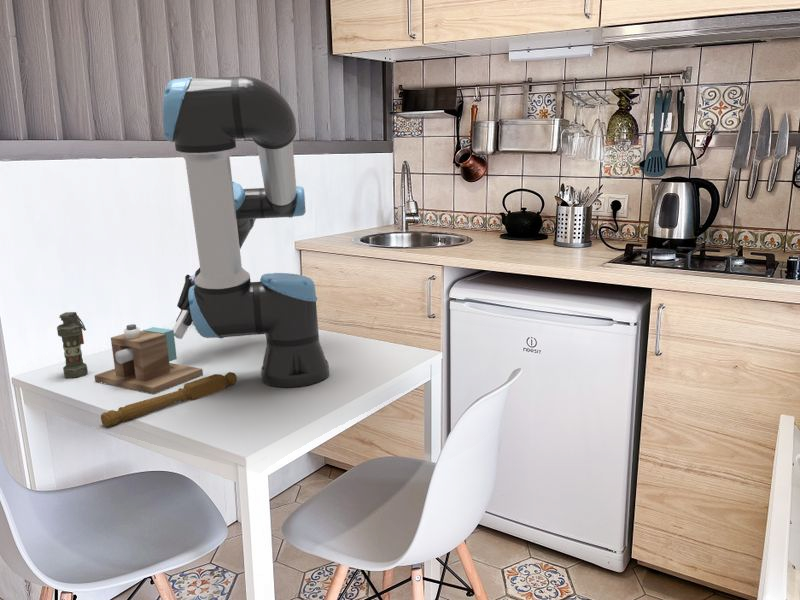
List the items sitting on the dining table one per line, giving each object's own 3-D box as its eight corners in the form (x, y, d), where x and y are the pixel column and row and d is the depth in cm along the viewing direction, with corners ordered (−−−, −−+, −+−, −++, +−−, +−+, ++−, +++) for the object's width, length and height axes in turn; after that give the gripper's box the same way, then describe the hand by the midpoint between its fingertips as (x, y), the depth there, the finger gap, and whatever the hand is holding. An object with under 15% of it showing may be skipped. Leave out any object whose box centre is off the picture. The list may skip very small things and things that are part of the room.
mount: (203, 374, 156) (198, 331, 154) (153, 394, 145) (147, 347, 142) (145, 364, 166) (140, 323, 164) (95, 381, 155) (88, 337, 153)
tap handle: (98, 411, 128) (230, 369, 150) (101, 426, 129) (232, 382, 151) (106, 414, 126) (238, 371, 148) (108, 430, 127) (240, 384, 149)
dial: (143, 336, 151) (141, 324, 151) (131, 340, 149) (129, 327, 148) (133, 335, 153) (132, 323, 152) (121, 338, 150) (120, 326, 150)
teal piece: (176, 358, 158) (173, 330, 156) (131, 374, 147) (127, 343, 146) (156, 355, 161) (153, 327, 160) (111, 370, 151) (107, 340, 149)
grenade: (85, 377, 158) (76, 315, 155) (59, 378, 158) (49, 316, 155) (97, 369, 164) (89, 309, 161) (72, 370, 164) (63, 310, 161)
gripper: (246, 265, 172) (205, 346, 161) (209, 263, 178) (167, 340, 168) (229, 248, 166) (185, 330, 156) (192, 246, 172) (147, 325, 162)
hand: (176, 335), depth 162 cm, fingers closed
